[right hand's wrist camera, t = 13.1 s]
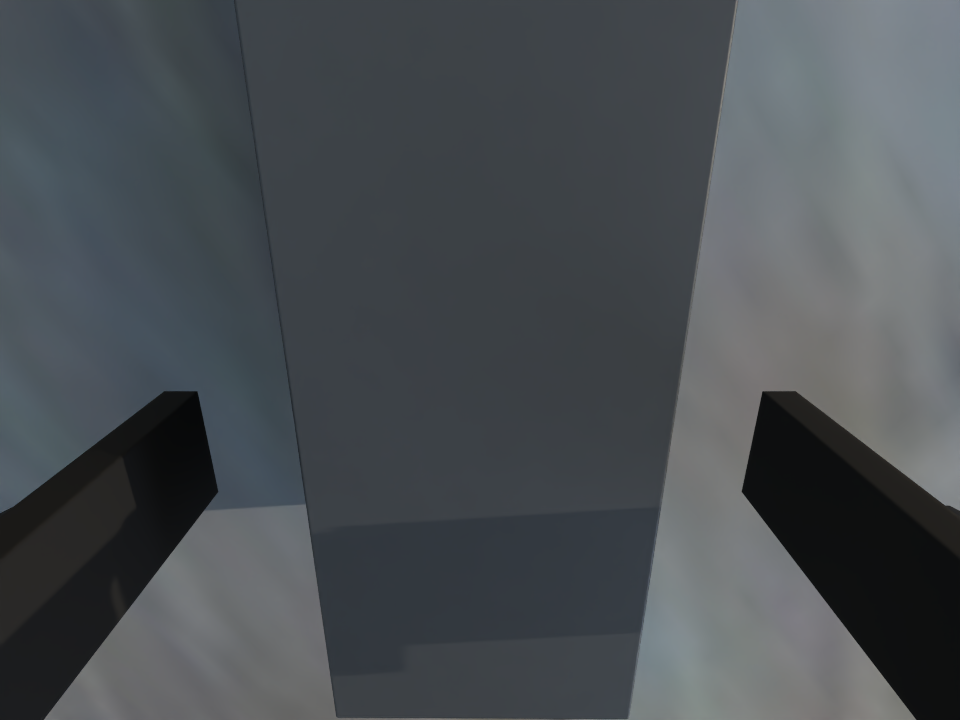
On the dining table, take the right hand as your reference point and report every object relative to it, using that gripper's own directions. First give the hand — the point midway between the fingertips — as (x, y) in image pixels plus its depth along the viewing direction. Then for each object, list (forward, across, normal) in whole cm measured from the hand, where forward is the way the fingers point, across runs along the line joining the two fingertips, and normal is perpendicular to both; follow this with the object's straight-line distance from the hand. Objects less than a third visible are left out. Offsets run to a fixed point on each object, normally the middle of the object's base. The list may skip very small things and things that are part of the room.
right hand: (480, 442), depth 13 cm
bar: (+3, 0, -34) cm, 34 cm away
